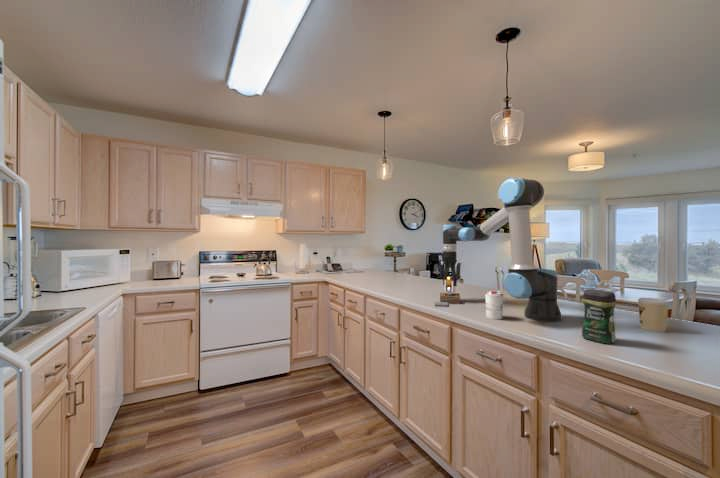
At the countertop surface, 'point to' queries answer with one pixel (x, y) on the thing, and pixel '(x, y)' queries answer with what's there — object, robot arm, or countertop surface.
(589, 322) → the coffee jar
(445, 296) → the socket block
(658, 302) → the coffee cup
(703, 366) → the countertop surface
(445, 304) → the rest mat
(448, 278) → the gold and silver cylinder
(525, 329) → the countertop surface
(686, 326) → the countertop surface
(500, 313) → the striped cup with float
